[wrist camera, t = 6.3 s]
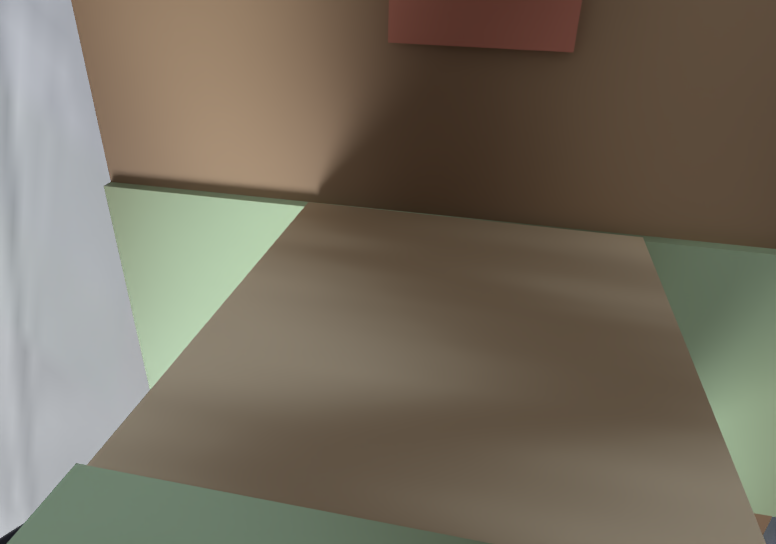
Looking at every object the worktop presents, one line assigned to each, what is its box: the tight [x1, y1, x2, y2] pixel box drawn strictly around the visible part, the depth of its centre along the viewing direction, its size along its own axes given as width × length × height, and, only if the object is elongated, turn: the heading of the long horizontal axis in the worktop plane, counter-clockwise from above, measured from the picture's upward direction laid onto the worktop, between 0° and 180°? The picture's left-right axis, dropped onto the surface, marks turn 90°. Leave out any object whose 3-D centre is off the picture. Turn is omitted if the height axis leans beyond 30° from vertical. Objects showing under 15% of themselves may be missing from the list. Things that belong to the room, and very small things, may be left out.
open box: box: [71, 0, 776, 535], centre depth 11 cm, size 12×12×4 cm
